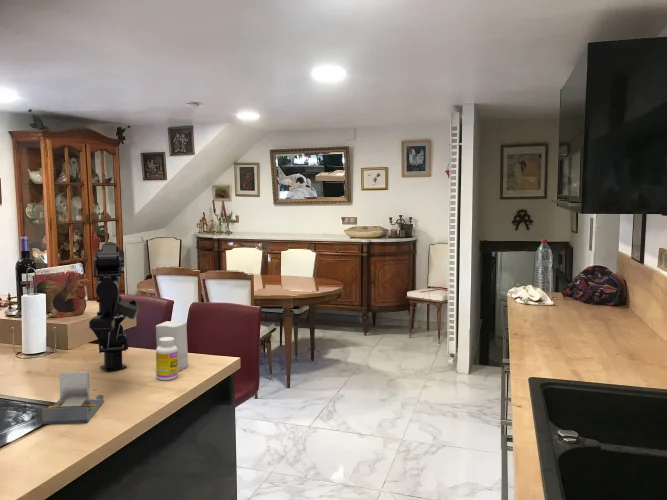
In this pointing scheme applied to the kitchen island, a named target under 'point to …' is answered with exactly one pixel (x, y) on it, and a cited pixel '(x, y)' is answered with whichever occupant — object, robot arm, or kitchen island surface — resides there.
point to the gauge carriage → (74, 389)
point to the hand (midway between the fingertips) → (110, 344)
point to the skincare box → (175, 339)
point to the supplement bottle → (166, 359)
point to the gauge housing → (71, 413)
